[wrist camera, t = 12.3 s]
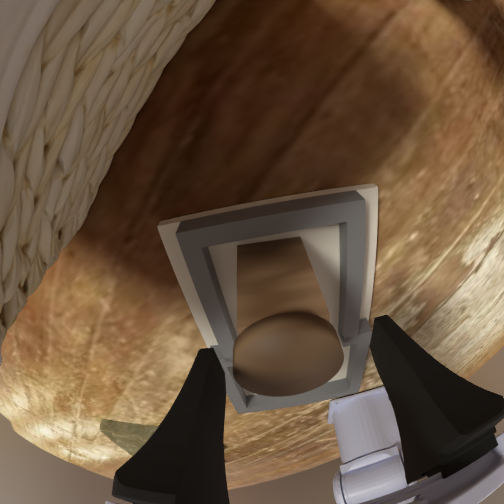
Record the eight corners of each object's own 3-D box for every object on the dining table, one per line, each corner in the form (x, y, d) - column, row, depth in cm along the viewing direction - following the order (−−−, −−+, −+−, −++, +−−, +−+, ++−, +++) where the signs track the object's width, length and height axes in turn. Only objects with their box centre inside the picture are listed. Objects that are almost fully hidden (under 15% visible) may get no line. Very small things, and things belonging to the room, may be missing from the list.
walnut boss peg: (307, 228, 17) (349, 323, 10) (309, 290, 20) (338, 386, 13) (227, 239, 17) (221, 342, 10) (240, 300, 20) (242, 401, 13)
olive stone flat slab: (146, 453, 45) (144, 466, 42) (100, 415, 35) (96, 432, 32) (228, 458, 45) (228, 472, 42) (205, 425, 34) (204, 445, 31)
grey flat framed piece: (372, 183, 16) (389, 196, 14) (355, 374, 28) (361, 391, 26) (160, 221, 17) (150, 239, 15) (235, 395, 29) (235, 413, 26)
